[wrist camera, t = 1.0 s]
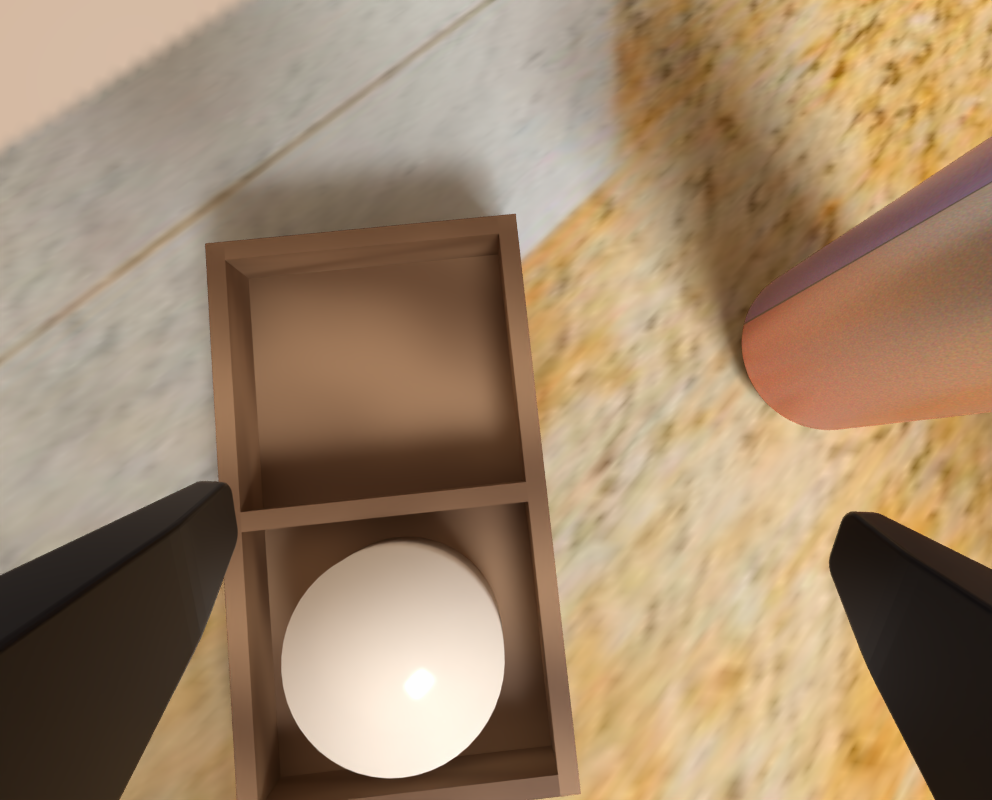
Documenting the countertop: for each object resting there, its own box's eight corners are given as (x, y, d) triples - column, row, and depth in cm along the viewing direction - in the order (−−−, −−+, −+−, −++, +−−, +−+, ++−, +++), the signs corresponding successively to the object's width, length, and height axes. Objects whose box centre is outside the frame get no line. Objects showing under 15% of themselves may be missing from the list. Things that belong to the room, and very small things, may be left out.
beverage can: (756, 253, 24) (1208, -112, 9) (910, 298, 24) (1631, 7, 9) (716, 403, 23) (1130, 284, 8) (873, 451, 23) (1584, 419, 8)
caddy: (567, 746, 22) (580, 794, 19) (275, 780, 21) (238, 834, 18) (512, 248, 24) (515, 213, 20) (243, 274, 23) (205, 243, 20)
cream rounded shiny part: (542, 639, 21) (550, 665, 18) (398, 779, 20) (384, 828, 18) (412, 496, 21) (401, 500, 19) (268, 630, 21) (234, 655, 18)
